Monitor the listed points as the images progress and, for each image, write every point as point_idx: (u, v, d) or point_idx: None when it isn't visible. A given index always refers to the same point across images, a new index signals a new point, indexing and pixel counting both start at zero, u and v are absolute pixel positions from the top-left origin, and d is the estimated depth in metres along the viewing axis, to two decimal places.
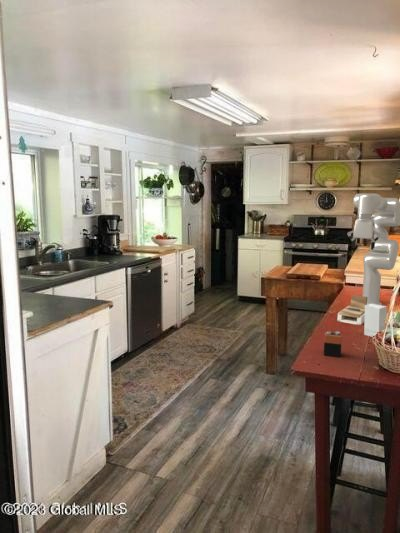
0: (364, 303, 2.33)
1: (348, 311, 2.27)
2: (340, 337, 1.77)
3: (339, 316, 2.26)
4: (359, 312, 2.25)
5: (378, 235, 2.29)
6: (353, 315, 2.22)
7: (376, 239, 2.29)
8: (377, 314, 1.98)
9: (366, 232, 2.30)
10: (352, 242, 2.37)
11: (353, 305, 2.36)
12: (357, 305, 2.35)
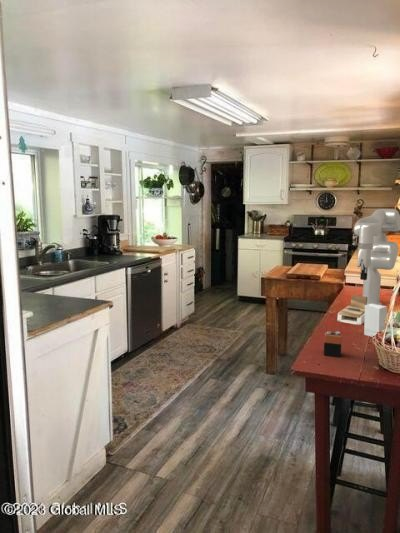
0: (364, 303, 2.33)
1: (348, 311, 2.27)
2: (340, 337, 1.77)
3: (339, 316, 2.26)
4: (359, 312, 2.25)
5: None
6: (353, 315, 2.22)
7: None
8: (377, 314, 1.98)
9: (370, 261, 2.37)
10: (364, 274, 2.37)
11: (353, 305, 2.36)
12: (357, 305, 2.35)
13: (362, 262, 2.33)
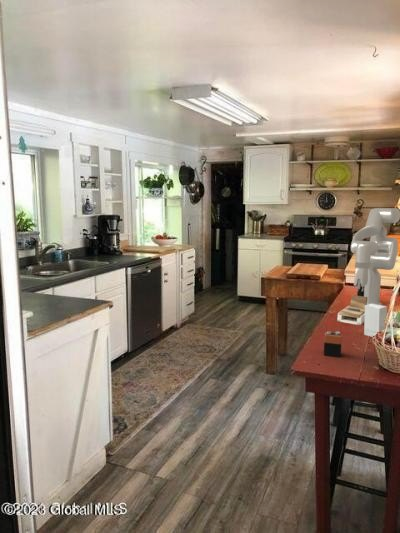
0: (364, 303, 2.32)
1: (348, 311, 2.27)
2: (340, 337, 1.77)
3: (339, 316, 2.26)
4: (359, 312, 2.25)
5: None
6: (353, 315, 2.22)
7: None
8: (377, 314, 1.98)
9: (366, 279, 2.35)
10: (361, 293, 2.35)
11: (353, 305, 2.36)
12: (357, 305, 2.35)
13: (359, 281, 2.32)
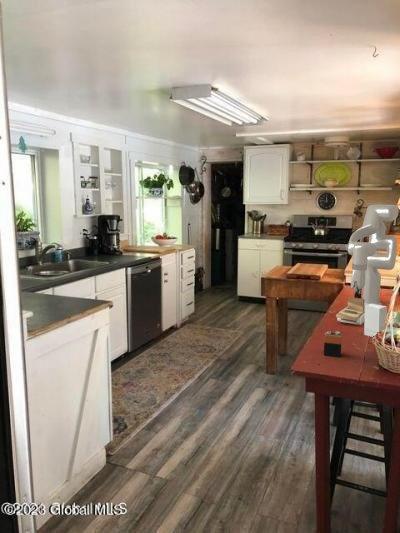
0: (361, 305, 2.28)
1: (344, 313, 2.22)
2: (340, 337, 1.77)
3: None
4: (356, 315, 2.20)
5: None
6: (349, 318, 2.18)
7: None
8: (377, 314, 1.98)
9: (364, 281, 2.31)
10: (358, 295, 2.31)
11: (350, 307, 2.32)
12: (354, 307, 2.31)
13: (356, 283, 2.27)
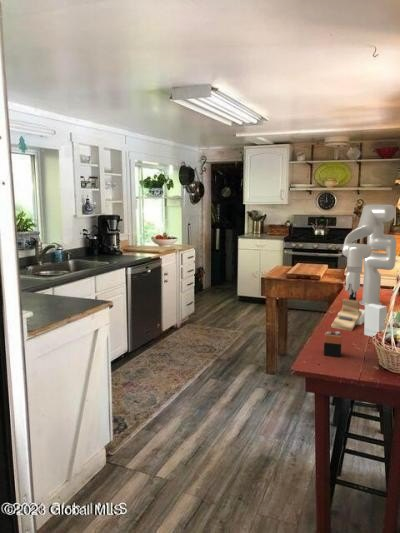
0: (356, 308, 2.21)
1: (340, 322, 2.17)
2: (340, 337, 1.77)
3: None
4: (351, 322, 2.15)
5: None
6: (345, 328, 2.13)
7: None
8: (377, 314, 1.98)
9: (359, 284, 2.24)
10: (353, 298, 2.24)
11: (345, 310, 2.25)
12: (349, 310, 2.24)
13: (350, 286, 2.20)
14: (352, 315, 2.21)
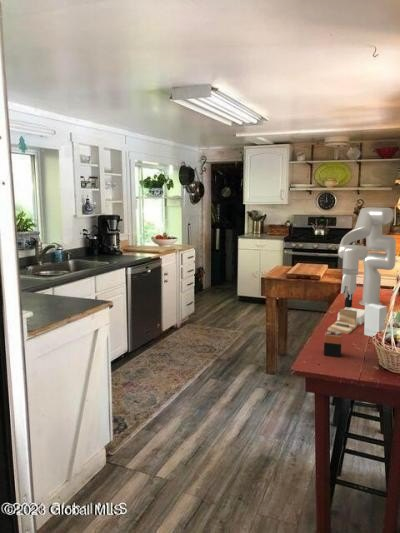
0: (353, 318, 2.19)
1: (336, 327, 2.13)
2: (340, 337, 1.77)
3: (339, 316, 2.26)
4: (348, 328, 2.11)
5: None
6: (341, 332, 2.08)
7: None
8: (377, 314, 1.98)
9: (355, 286, 2.18)
10: (349, 301, 2.18)
11: (342, 320, 2.23)
12: (346, 320, 2.21)
13: (346, 289, 2.15)
14: (349, 324, 2.18)
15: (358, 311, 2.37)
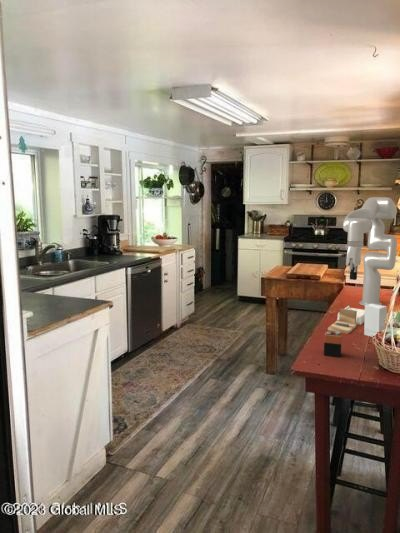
0: (353, 318, 2.20)
1: (336, 327, 2.13)
2: (340, 337, 1.77)
3: None
4: (348, 328, 2.12)
5: None
6: (342, 331, 2.09)
7: None
8: (377, 314, 1.98)
9: (359, 259, 2.21)
10: (354, 273, 2.20)
11: (342, 320, 2.23)
12: (346, 320, 2.22)
13: (351, 261, 2.17)
14: (349, 324, 2.18)
15: (358, 311, 2.37)
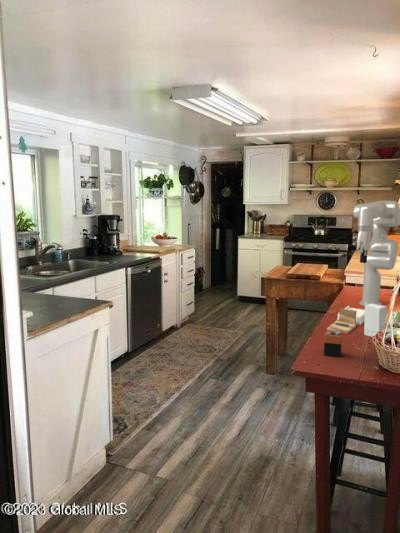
0: (353, 318, 2.20)
1: (336, 326, 2.14)
2: (340, 337, 1.77)
3: None
4: (347, 328, 2.12)
5: None
6: (341, 331, 2.09)
7: (366, 252, 2.35)
8: (377, 314, 1.98)
9: (369, 243, 2.33)
10: (364, 257, 2.33)
11: (341, 319, 2.23)
12: (346, 320, 2.22)
13: (362, 245, 2.29)
14: (348, 324, 2.18)
15: (358, 311, 2.37)
